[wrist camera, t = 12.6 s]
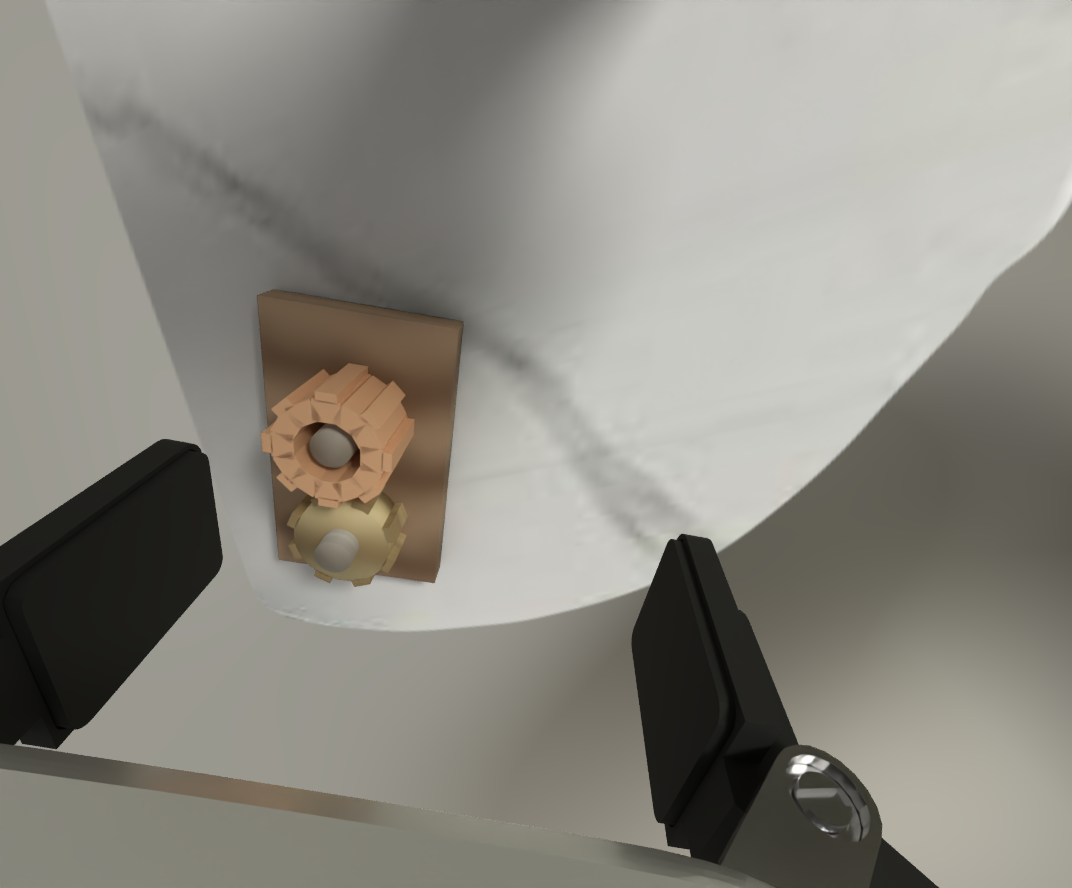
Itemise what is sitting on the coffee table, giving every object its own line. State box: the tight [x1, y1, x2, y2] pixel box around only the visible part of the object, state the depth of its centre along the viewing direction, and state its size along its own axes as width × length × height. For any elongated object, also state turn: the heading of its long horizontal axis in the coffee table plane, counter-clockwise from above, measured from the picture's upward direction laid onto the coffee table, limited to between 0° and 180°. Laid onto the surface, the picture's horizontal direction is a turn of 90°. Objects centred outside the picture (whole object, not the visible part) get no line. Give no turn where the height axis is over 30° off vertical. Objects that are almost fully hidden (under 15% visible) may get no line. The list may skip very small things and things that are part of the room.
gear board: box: [257, 290, 463, 587], centre depth 34 cm, size 20×12×6 cm, turn 171°
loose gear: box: [261, 363, 415, 508], centre depth 31 cm, size 7×7×5 cm
